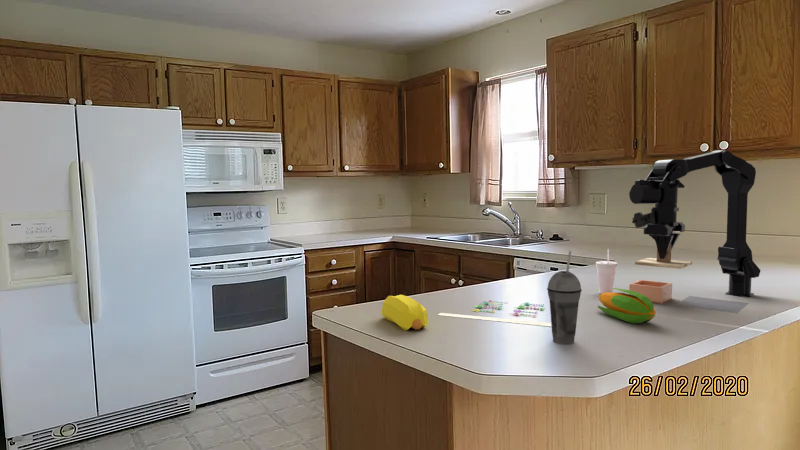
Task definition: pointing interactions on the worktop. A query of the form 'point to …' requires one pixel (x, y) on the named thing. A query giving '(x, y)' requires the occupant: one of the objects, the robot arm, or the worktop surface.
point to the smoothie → (606, 274)
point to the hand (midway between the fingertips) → (663, 258)
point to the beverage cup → (564, 304)
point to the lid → (664, 261)
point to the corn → (627, 306)
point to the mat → (712, 304)
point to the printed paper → (501, 318)
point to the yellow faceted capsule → (405, 312)
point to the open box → (653, 290)
